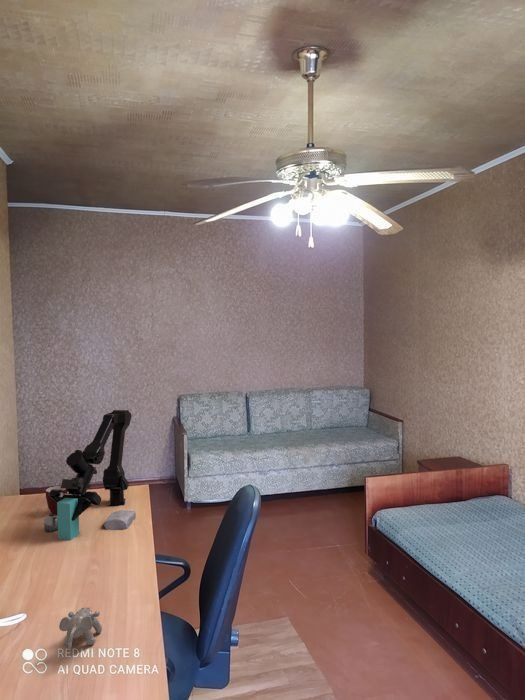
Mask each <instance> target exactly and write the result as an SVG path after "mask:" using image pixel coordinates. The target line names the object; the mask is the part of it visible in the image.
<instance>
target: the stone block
mask: <svg viewBox="0 0 525 700" xmlns="http://www.w3.org/2000/svg"><path fill="white" fill-rule="evenodd" d="M136 517H137V515H136V510H131V509H130V510H129V509H120V510H116V511H113V512H111V513H110V514H109V515H108V516H107V518H106V519H105V520H104V522H103V526H104V529H105V530H109V531H113V530H114V529H115V530H127V529H129V527H130V526H131V525H132V523H133V520H135V519H136Z"/></svg>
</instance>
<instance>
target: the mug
mask: <svg viewBox="0 0 525 700" xmlns="http://www.w3.org/2000/svg"><path fill="white" fill-rule="evenodd" d="M52 489H61V490H62V491H63V492H64V493H69V492H67V491H66V488H61V485H54V486H49V487H47V488H46V489H45V500H46V503H47V509H48V510H49V512H50V513H51V514H58V513H57V502H55V501H54V500H53V499H52V498H51V497H49V496H48V495H49V493H50V491H51V490H52Z"/></svg>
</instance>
